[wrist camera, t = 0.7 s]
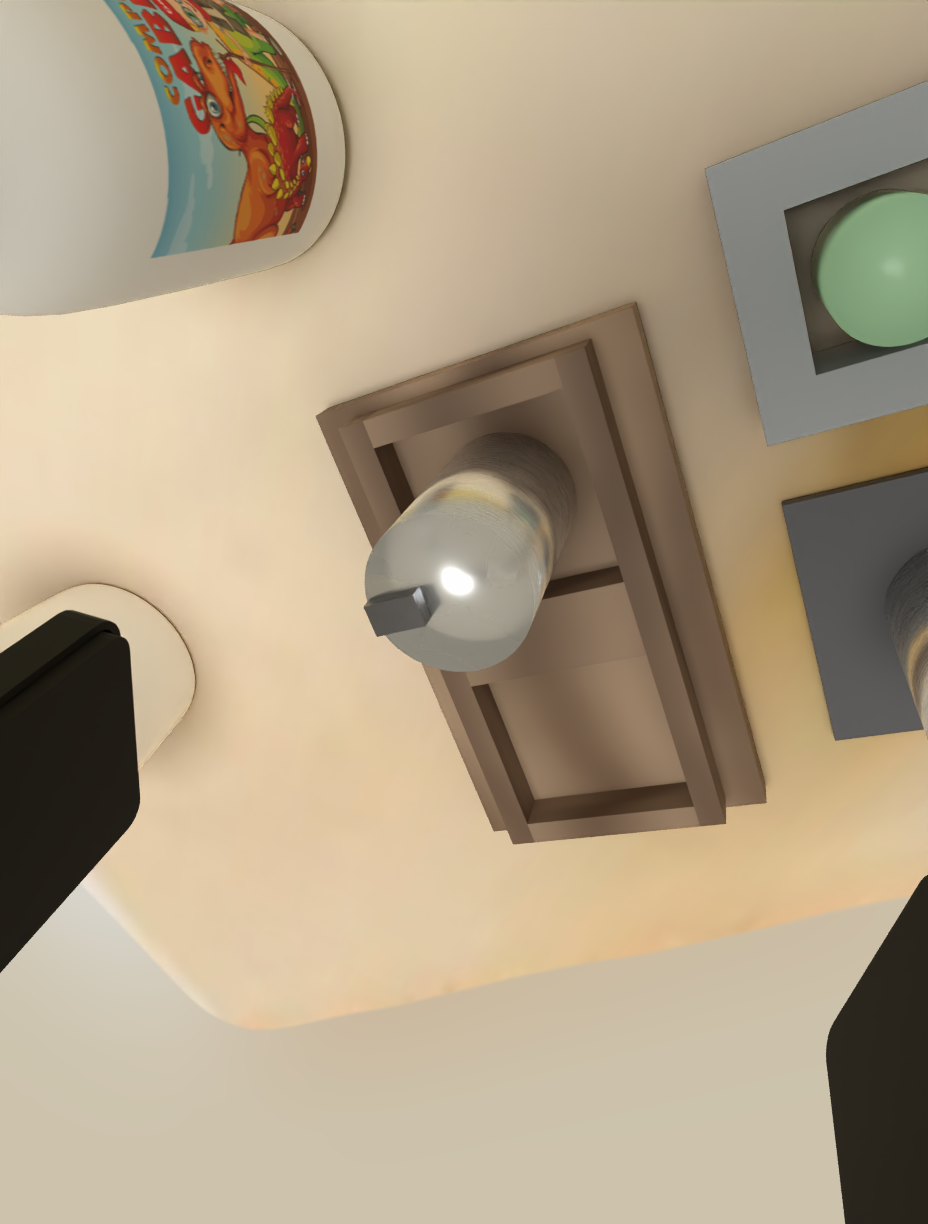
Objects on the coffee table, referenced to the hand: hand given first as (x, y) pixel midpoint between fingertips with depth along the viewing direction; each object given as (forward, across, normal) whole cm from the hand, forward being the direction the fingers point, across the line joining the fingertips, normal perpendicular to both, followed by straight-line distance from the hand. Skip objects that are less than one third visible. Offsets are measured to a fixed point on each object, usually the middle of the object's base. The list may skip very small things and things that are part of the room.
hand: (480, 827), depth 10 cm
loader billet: (+21, +4, +5) cm, 22 cm away
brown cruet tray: (+22, +1, +9) cm, 24 cm away
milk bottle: (+22, +15, -5) cm, 27 cm away
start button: (+22, -6, -5) cm, 24 cm away
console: (+22, -6, -5) cm, 24 cm away
